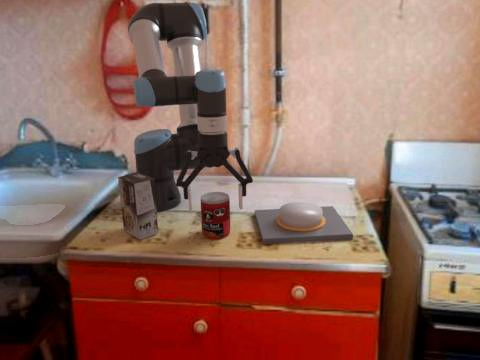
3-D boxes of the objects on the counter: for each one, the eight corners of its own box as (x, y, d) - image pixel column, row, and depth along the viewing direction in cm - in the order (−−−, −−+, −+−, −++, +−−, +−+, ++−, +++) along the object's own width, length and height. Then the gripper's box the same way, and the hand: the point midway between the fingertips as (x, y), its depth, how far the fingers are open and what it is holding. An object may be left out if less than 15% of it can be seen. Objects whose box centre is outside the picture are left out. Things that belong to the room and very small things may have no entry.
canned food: (196, 236, 132) (194, 199, 128) (211, 225, 138) (210, 189, 135) (221, 242, 128) (219, 203, 125) (235, 230, 135) (234, 193, 131)
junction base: (254, 214, 145) (254, 199, 144) (332, 210, 147) (333, 195, 146) (263, 244, 126) (263, 226, 125) (352, 239, 128) (353, 221, 127)
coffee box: (159, 233, 134) (155, 178, 129) (139, 240, 130) (133, 183, 125) (142, 223, 141) (137, 171, 135) (122, 230, 137) (117, 176, 131)
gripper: (162, 136, 119) (168, 216, 126) (262, 132, 121) (263, 211, 128) (164, 130, 127) (169, 206, 133) (258, 126, 128) (259, 201, 135)
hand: (215, 209), depth 130 cm, fingers open, 13 cm apart
